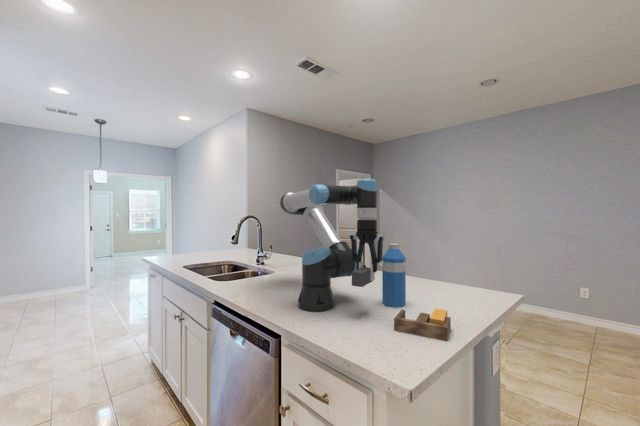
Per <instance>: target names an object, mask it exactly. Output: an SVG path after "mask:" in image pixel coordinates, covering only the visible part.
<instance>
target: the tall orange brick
mask: <svg viewBox="0 0 640 426" xmlns="http://www.w3.org/2000/svg"><path fill="white" fill-rule="evenodd" d="M446 317H448V310H447V309H442V308H437V307H436V308H434V309H433V310H432V314H430V323H432V324H438V325H444V323H445V320H446Z"/></svg>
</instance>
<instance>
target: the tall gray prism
mask: <svg viewBox="0 0 640 426" xmlns="http://www.w3.org/2000/svg"><path fill="white" fill-rule="evenodd" d="M372 282H373V281H370V267H365V266H363V268H360V269H358V270H355V271H353V272H352V275H351V286H352V287H357V288H358V287H359V288H364V287H365V286H367V285H368V284H370V283H372Z"/></svg>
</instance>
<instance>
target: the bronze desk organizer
mask: <svg viewBox="0 0 640 426" xmlns="http://www.w3.org/2000/svg"><path fill="white" fill-rule="evenodd" d="M430 317H431V314H430V313H425V312H419V314H418V316H417V318H416V319H409V318H406V310H405V309H401V310H400V311H399V312H398V314H396V315H395V317H394V318H393V331H396V332H401V333H407V334H412V335H417V336H422V337H427V338H431V339H436V340H441V341H446V342H447V341H448V339H449V335H450V332H451V329H452V328H451V316H450V317H449V316H447V317H446V320H445V323H444V325H438V324H432V323H430Z"/></svg>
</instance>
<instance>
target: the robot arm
mask: <svg viewBox="0 0 640 426" xmlns="http://www.w3.org/2000/svg"><path fill="white" fill-rule="evenodd" d="M377 185H378V184H377V181H376V179H374V178H360V179H357V181H356V185H348V186H347V185H335V184H334V185H331V184H323V183H321V184H320V183H318V184H313V185H311V187H310V188H309V189H306V190H301V191H298V192H287V193H286V192H285V193H284V194H283V195H282V196H281V198H280V200H279V206H280V208H281V210H282V211H283V212H284V213H286V214H287V215H288V214H289V215H293V216H302V217H303V219H304V220H305V221H307V222H309V223H310V225H311V228H312V229H313V231H314V232H315V234H316V235H317V237H318V240H319V241H320V243H321V244H322V247H321V246H320V247H312V248H308V249H307V250H305V251H303V253H302V258H301V264H302V266H301V269H302V272H301V276H302V277H301V283H302V285H301V290H300V293H299V296H298V300H297V307H298V308H299V309H301V310H303V311H307V312H325V311H329V310H332V309H334V308H335V307H336V299H335V297H334V293H333V289H332V286H331V284H332V282H331V279H336V278H344V277H352V272H353V271H355V270H358V269H360V268H363V267H364V261H363V254H364V248H365V246H366V244H367V245H368V247H369V252H370V256H371V263H370V267H369V268H370V281H372V282H374V281H375V279H376V277H375V275H376V274H375V273H376V272H378V263H382V257H383V248H384V247H383V246H384V245H383V244H384V243H383V242H384V240H385V236H384V235H380V234H379V233H378V230H377V225H378V224H377V222H378V221H377V218H378V215H377V214H378V213H377V210H378V209H377V207H378V206H377V205H378V203H377V202H378V201H377V200H378V198H377V197H378V196H377V195H378V188H377V187H378V186H377ZM326 205H346V206H350V205H356V219H357V220H356V233H354V234H351V235H349V239H350V243H351V244H350V245H351V247H350V245H349V244H348V242H346V241H345V240H342V239H341V237H340V236H339V235H338V233H337V231H336V229H335V228H334V227H333V225H332V224H331V223H332V222H330V221H329V219H328V217H327V216H326V214H325V209H326ZM357 239H358V240H359V241H358V242H357ZM376 239H377V248H376V247H375V246H376V245H375V241H376ZM357 243H358V246H357ZM376 249H377V251H376Z"/></svg>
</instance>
